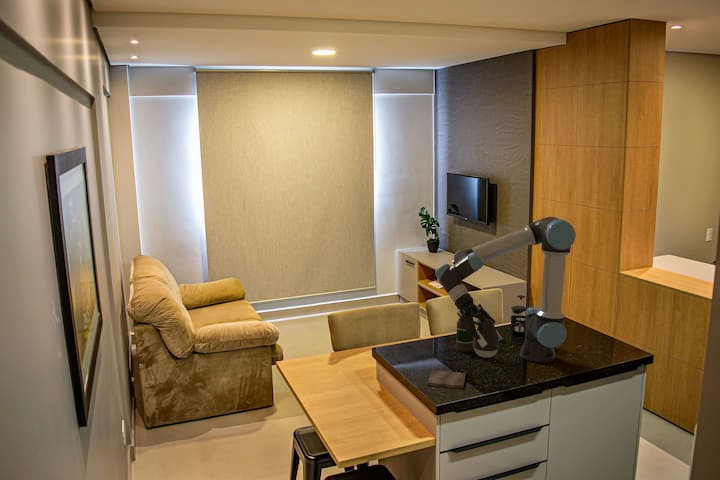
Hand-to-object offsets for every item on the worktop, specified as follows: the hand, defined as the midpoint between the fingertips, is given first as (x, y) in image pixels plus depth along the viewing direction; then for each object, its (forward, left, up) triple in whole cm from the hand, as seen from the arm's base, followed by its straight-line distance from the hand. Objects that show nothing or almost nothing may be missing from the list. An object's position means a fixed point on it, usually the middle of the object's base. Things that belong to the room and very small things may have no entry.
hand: (492, 342), depth 243 cm
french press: (-12, -58, -17) cm, 61 cm away
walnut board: (+17, +2, -17) cm, 24 cm away
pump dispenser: (+3, -2, -6) cm, 7 cm away
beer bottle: (+13, -38, -17) cm, 43 cm away
